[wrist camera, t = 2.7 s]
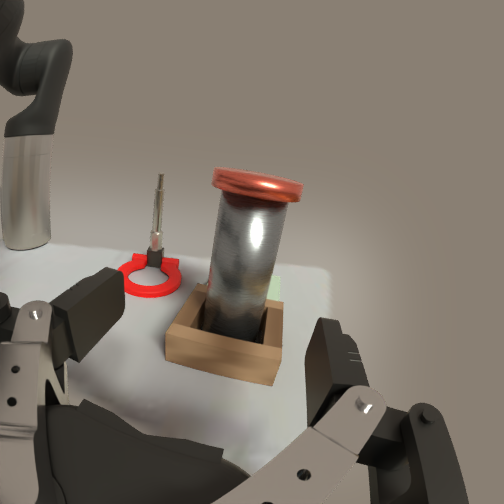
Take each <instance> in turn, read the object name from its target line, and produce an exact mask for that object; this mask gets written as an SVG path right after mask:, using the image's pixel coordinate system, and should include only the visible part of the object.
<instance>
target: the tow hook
mask: <svg viewBox="0 0 504 504" xmlns="http://www.w3.org/2000/svg"><path fill="white" fill-rule="evenodd" d="M164 175H165V174H164V173H159V174H158V184H157V189H155V199H154V212H153V229H152V230H151V236H150V246H149V248H148V250H147V255H143V254H136V253H134V254H133V256H132V261H130V262H127V263H125V264H123V265H122V266H121V267H119V268H118V270H119V271H122V272H123V275H124V292H126V293H128V294H131V295H134V296H138V297H145V298H156V297H161V296H165V295H168V294H170V293H173V292H174V291H175V290H177V289H178V287H179V286H180V285H181V273H180V271H179V270H178V266H179V259H173V258H166V257H164V248H162V235H163V232H162V231H161V225H162V211H163V199H164V189H163V184H164ZM146 265H147V266H151V267H158V268H161V271H163V272H165V273H166V274H167V275H168V276H169V279H168V280H167V281H166V282H165V283H163V284H160V285H155V286H143V285H138V284H135V283H133V282H131V281H130V280H129V279H128V275H129V274H130V273H131V272H133V271H135V270H138V269H143V268H145V266H146Z"/></svg>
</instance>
